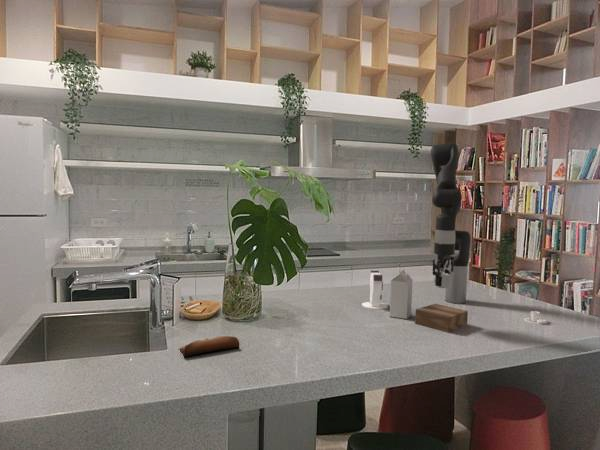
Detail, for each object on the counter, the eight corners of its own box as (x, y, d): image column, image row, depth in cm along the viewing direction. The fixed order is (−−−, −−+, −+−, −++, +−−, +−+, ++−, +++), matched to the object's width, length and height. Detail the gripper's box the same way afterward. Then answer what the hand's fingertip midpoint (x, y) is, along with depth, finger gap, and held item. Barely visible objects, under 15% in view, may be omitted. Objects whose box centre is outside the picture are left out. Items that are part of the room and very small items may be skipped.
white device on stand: (390, 309, 192) (391, 275, 191) (363, 309, 193) (364, 274, 191) (385, 302, 204) (386, 270, 203) (360, 302, 205) (361, 269, 203)
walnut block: (434, 318, 183) (435, 303, 182) (467, 326, 172) (467, 311, 172) (414, 324, 174) (415, 309, 173) (447, 333, 163) (448, 317, 163)
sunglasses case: (229, 340, 150) (233, 326, 147) (236, 356, 145) (241, 342, 142) (175, 349, 140) (179, 335, 137) (181, 367, 136) (185, 352, 132)
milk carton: (389, 316, 182) (391, 270, 180) (394, 312, 188) (396, 268, 187) (406, 319, 179) (408, 272, 177) (411, 315, 185) (413, 269, 183)
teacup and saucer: (550, 326, 175) (550, 316, 175) (527, 324, 177) (528, 314, 176) (542, 319, 184) (543, 310, 183) (521, 318, 185) (522, 308, 185)
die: (440, 288, 169) (441, 275, 168) (433, 285, 174) (433, 273, 173) (452, 288, 170) (452, 275, 170) (444, 285, 175) (445, 272, 175)
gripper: (443, 239, 178) (441, 280, 180) (426, 242, 168) (424, 285, 169) (461, 241, 173) (459, 283, 175) (446, 244, 163) (443, 289, 164)
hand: (442, 284), depth 172 cm, fingers closed on die, 7 cm apart
